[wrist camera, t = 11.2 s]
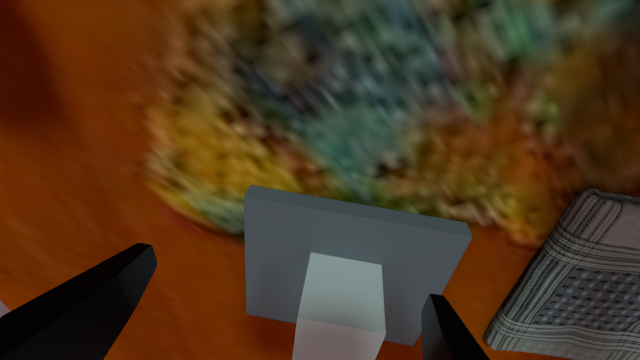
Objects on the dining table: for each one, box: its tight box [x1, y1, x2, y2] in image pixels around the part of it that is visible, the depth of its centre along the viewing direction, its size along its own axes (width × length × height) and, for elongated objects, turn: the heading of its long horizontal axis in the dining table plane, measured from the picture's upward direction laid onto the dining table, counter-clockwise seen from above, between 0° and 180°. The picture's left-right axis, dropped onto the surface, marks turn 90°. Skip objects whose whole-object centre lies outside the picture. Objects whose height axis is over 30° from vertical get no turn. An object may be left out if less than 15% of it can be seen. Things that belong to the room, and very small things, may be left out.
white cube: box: [292, 252, 386, 360], centre depth 22 cm, size 6×6×6 cm
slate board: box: [244, 185, 472, 346], centre depth 25 cm, size 16×14×2 cm
